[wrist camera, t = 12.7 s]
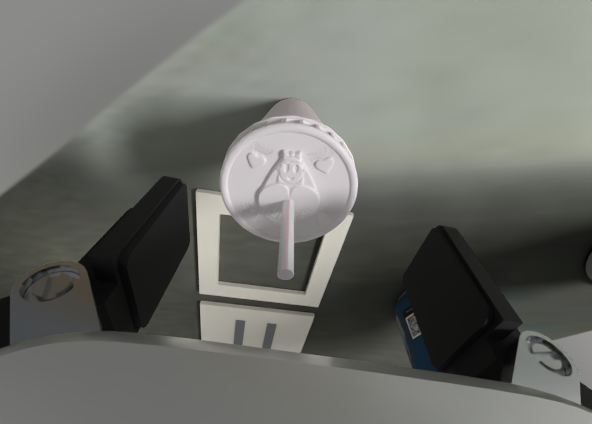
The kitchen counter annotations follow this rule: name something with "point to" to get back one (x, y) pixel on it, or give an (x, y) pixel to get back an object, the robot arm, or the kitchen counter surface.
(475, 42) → the kitchen counter surface
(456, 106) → the kitchen counter surface
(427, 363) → the soda can
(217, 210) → the pads
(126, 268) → the robot arm
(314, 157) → the smoothie
